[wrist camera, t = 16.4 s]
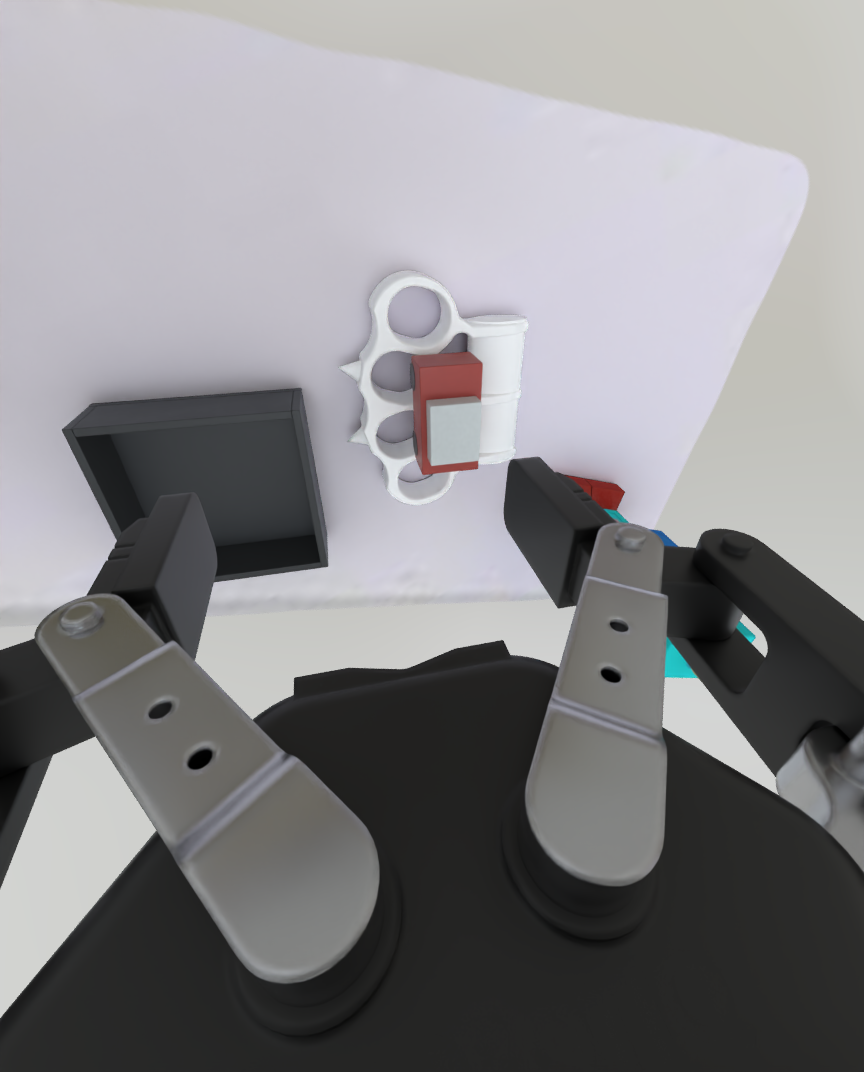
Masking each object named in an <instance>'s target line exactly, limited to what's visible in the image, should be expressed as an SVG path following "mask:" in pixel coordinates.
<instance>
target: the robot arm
mask: <svg viewBox="0 0 864 1072" xmlns="http://www.w3.org/2000/svg"><path fill="white" fill-rule="evenodd" d="M504 520H505V525H506V528H507V530H508V532H509V533H510V535H511V536H512V538H513V540H514V541H515V543H516V544H517V546H518V547H519V549H520V550H521V552H522V553H523V555H524V557H525V558H526V560H527V561H528V563H529V564H530V566H531V567H532V569H533V570H534V572H535V574H536V575H537V577H538V578H539V580H540V581H541V583H542V584H543V586H544V588H545V589H546V591H547V592H548V594H549V595H550V597H551V598H552V600H553V601H554V603H555V605H556V606H557V608H564V607H570V606H576V610H575V614H574V617H573V621H572V624H571V628H570V631H569V635H568V639H567V642H566V646H565V650H564V653H563V656H562V660H561V664H560V667H557V666H555V665H552V664H550V663H547V662H544V661H541V660H538V659H534V658H529V657H523V656H515V655H514V656H513V655H510V654H509V652H508V650H507V647H506V645H505V643H504V641H503V640H501V641H495V642H490V643H484V644H479V645H473V646H468V647H463V648H457V649H454V650H451V651H449V652H446V653H444V654H441V655H439V656H437V657H434V658H432V659H430V660H427V661H425V662H422V663H420V664H418V665H415V666H413V667H410V668H407V669H368V668H346V669H340V670H335V671H329V672H324V673H318V674H312V675H307V676H302V677H296V678H294V695H293V696H291V697H288V698H286V699H284V700H282V701H280V702H278V703H277V704H275V705H273V706H271V707H270V708H268V709H267V710H265V711H264V712H262V713H261V714H259V715H258V716H257V717H256V718H254V719H253V720H252V719H251V718H250V717H249V716H248V715H247V714H246V713H245V712H244V711H243V710H242V709H241V708H240V707H239V706H238V705H237V704H236V703H235V702H234V701H233V700H232V699H231V698H230V697H229V696H228V695H227V694H226V693H225V692H224V690H222V688H221V687H219V685H218V684H217V683H215V681H214V680H213V679H212V678H211V677H210V676H209V675H208V674H207V673H206V672H205V671H204V670H203V669H202V668H201V667H200V666H199V665H198V664H197V663H196V662H195V658H196V653H197V649H198V645H199V641H200V637H201V633H202V629H203V624H204V620H205V616H206V612H207V608H208V604H209V600H210V595H211V591H212V587H213V583H214V579H215V575H216V570H217V553H216V548H215V544H214V541H213V538H212V535H211V532H210V529H209V526H208V523H207V520H206V517H205V514H204V511H203V508H202V505H201V502H200V500H199V498H198V496H197V494H196V493H194V492H192V493H182V494H173V495H163V496H160V497H159V498H158V500H157V502H156V504H155V506H154V508H153V510H152V512H151V514H150V515H149V517H148V518H140V519H138V520H137V521H135V522H134V523H133V524H132V525H130V526H129V527H128V528H127V529H125V530H124V531H123V532H122V534H121V535H120V537H119V539H118V541H117V542H116V544H115V549H113V550H112V551H111V553H110V555H109V557H108V561H106V562H105V564H104V565H103V567H102V569H101V571H100V573H99V574H98V576H97V578H96V580H95V581H94V583H93V585H92V587H91V588H90V590H89V592H88V594H87V596H85V597H81V598H78V599H75V600H73V601H71V602H68V603H66V604H64V605H62V606H61V607H59V608H57V609H56V610H54V611H53V612H52V613H50V614H49V615H48V616H47V617H46V618H44V619H43V621H42V622H41V623H40V624H39V626H38V627H37V629H36V632H35V638H34V639H32V640H29V641H26V642H24V643H20V644H17V645H14V646H12V647H9V648H6V649H3V650H0V888H1V886H2V883H3V881H4V878H5V875H6V873H7V870H8V868H9V865H10V863H11V860H12V857H13V855H14V853H15V850H16V847H17V845H18V842H19V840H20V837H21V835H22V832H23V829H24V827H25V825H26V822H27V819H28V817H29V814H30V812H31V809H32V806H33V804H34V802H35V799H36V797H37V794H38V791H39V788H40V786H41V784H42V781H43V779H44V776H45V774H46V771H47V769H48V766H49V763H50V761H51V758H52V756H53V754H56V753H58V752H60V751H63V750H65V749H67V748H70V747H72V746H74V745H77V744H79V743H81V742H84V741H86V740H88V739H90V738H93V737H95V736H96V738H97V739H98V741H99V742H100V744H101V745H102V747H103V748H104V750H105V752H106V753H107V755H108V756H109V758H110V759H111V761H112V762H113V764H114V765H115V767H116V768H117V770H118V771H119V773H120V775H121V776H122V778H123V779H124V781H125V782H126V784H127V785H128V787H129V789H130V790H131V792H132V793H133V795H134V796H135V798H136V799H137V801H138V802H139V804H140V805H141V807H142V809H143V810H144V811H145V813H146V815H147V816H148V818H149V819H150V821H151V822H152V824H153V825H154V827H155V828H156V830H157V831H156V832H155V833H154V834H153V835H152V836H151V838H150V839H149V840H148V841H147V842H146V844H145V845H144V846H143V847H142V848H141V850H140V851H139V852H138V853H137V855H136V856H135V857H134V858H133V859H132V860H131V862H130V863H129V864H128V865H127V867H126V868H125V869H124V870H123V871H122V873H121V874H120V875H119V876H118V877H117V879H116V880H115V881H114V882H113V883H112V885H111V886H110V887H109V888H108V889H107V891H106V892H105V893H104V894H103V895H102V897H101V898H100V899H99V900H98V901H97V903H96V904H95V905H94V906H93V908H92V909H91V910H90V911H89V912H88V913H87V915H86V916H85V917H84V918H83V919H82V921H81V922H80V923H79V924H78V925H77V927H76V928H75V929H74V931H72V933H71V934H70V935H69V937H68V938H67V939H66V940H65V941H64V942H63V944H62V945H61V946H60V947H59V948H58V949H57V951H56V952H55V953H54V954H53V955H52V957H51V958H50V959H49V960H48V961H47V963H46V964H45V965H44V966H43V967H42V969H41V970H40V971H39V972H38V974H37V975H36V976H35V977H34V978H33V980H32V981H31V982H30V983H29V985H27V987H26V988H25V989H24V990H23V991H22V993H21V994H20V995H19V996H18V997H17V999H16V1000H15V1001H14V1002H13V1003H12V1005H11V1006H10V1007H9V1008H8V1010H7V1011H6V1012H5V1013H4V1014H3V1016H2V1017H1V1018H0V1072H864V621H863V620H861V619H860V618H859V617H858V616H856V615H855V614H854V613H852V612H851V611H850V610H849V609H847V608H846V607H845V606H843V605H842V604H841V603H840V602H838V601H837V600H836V599H834V598H833V597H832V596H831V595H829V594H828V593H827V592H825V591H824V590H823V589H821V588H820V587H819V586H818V585H816V584H815V583H814V582H813V581H811V580H810V579H809V578H807V577H806V576H805V575H804V574H802V573H801V572H800V571H798V570H797V569H796V568H794V567H793V566H792V565H791V564H789V563H788V562H787V561H786V560H784V559H783V558H782V557H780V556H779V555H778V554H776V553H775V552H774V551H773V550H771V549H770V548H769V547H768V546H766V545H765V544H764V543H762V542H760V541H759V540H758V539H756V538H754V537H752V536H750V535H747V534H744V533H741V532H738V531H734V530H728V529H712V530H708V531H705V532H704V533H703V534H702V535H701V537H700V539H699V542H698V544H697V547H696V548H689V547H675V546H664V543H663V541H662V540H661V538H660V537H659V536H658V535H657V534H655V533H654V532H652V531H651V530H649V529H647V528H645V527H642V526H639V525H635V524H631V523H622V522H620V523H617V522H616V521H615V520H614V519H613V518H612V517H611V516H610V515H609V514H608V513H607V512H606V511H605V510H604V509H603V508H602V507H601V506H600V505H599V504H598V503H597V502H596V501H595V500H592V497H591V496H590V495H589V494H588V493H587V492H584V489H582V488H581V487H580V486H579V485H578V484H577V483H576V482H575V481H574V480H573V479H571V478H569V477H567V476H565V475H563V474H561V473H559V472H554V471H553V470H552V469H551V468H550V467H549V466H548V465H547V464H546V463H545V462H544V461H543V460H542V459H541V458H540V457H531V458H522V459H513V460H511V461H510V463H509V466H508V472H507V482H506V492H505V502H504ZM743 613H744V614H745V615H746V616H747V617H748V618H749V619H750V620H751V621H752V622H753V623H754V624H755V625H756V626H757V627H758V628H759V629H760V630H761V631H762V633H763V634H764V636H765V638H766V641H767V645H768V653H767V655H766V657H764V656H763V655H762V654H761V653H760V652H759V651H758V650H757V649H756V648H755V647H754V646H753V645H752V644H751V643H750V642H749V641H748V639H747V638H746V637H745V636H744V635H743V634H742V633H741V632H740V631H739V630H738V629H737V628H736V627H737V625H738V623H739V621H740V619H741V617H742V615H743ZM667 637H668V639H669V640H670V641H671V643H672V644H673V645H674V647H675V648H676V649H677V650H678V652H679V653H680V654H681V656H682V657H683V658H684V659H685V661H686V662H687V663H688V665H689V666H690V667H691V668H692V670H693V671H694V672H695V674H696V675H697V676H698V678H699V679H700V680H701V681H702V682H703V684H704V685H705V686H706V688H707V689H708V690H709V692H710V693H711V694H712V696H713V697H714V698H715V699H716V700H717V702H718V703H719V704H720V706H721V707H722V708H723V710H724V711H725V712H726V714H727V715H728V716H729V718H730V719H731V720H732V721H733V723H734V724H735V725H736V727H737V728H738V729H739V730H740V732H741V733H742V734H743V736H745V738H746V739H747V741H748V742H749V743H750V745H751V746H752V747H753V748H754V750H755V751H756V752H757V754H758V755H759V756H760V758H761V759H762V760H763V761H764V762H765V764H766V765H767V766H768V768H769V769H770V770H771V772H772V773H773V774H774V775H775V777H776V787H777V791H778V794H779V795H777V794H775V793H774V792H772V791H770V790H768V789H767V788H765V787H764V786H762V785H760V784H758V783H757V782H755V781H753V780H751V779H750V778H748V777H746V776H745V775H743V774H741V773H740V772H738V771H736V770H735V769H733V768H731V767H729V766H728V765H726V764H724V763H723V762H721V761H719V760H717V759H716V758H714V757H712V756H711V755H709V754H707V753H705V752H704V751H702V750H700V749H699V748H697V747H695V746H693V745H692V744H690V743H688V742H686V741H685V740H683V739H682V738H680V737H678V736H676V735H675V734H673V733H671V732H670V731H668V730H666V729H665V728H663V727H662V719H663V698H664V679H665V658H666V638H667Z"/></svg>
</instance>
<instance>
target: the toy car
mask: <svg viewBox="0 0 864 1072" xmlns="http://www.w3.org/2000/svg"><path fill="white" fill-rule="evenodd" d="M411 361H412V363H411V364H410V380H411V386H412V389H413V412H414V431H413V447H414V452H415V458H416V460H417V462H418V465H419V467H420V470H421V472H422V474H423V475H428V474H436V473H445V472H454V471H463V470H472V469H478V461H479V450H480V429H481V408H482V402H481V392H482V371H483V363H482V362H481V361H480V360H479V359H478V358H477V357H475V356H474V355H473V354H472V353H471V352H458V353H444V354H429V355H415V356H412V357H411Z"/></svg>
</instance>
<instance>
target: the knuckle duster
mask: <svg viewBox="0 0 864 1072" xmlns="http://www.w3.org/2000/svg"><path fill="white" fill-rule="evenodd" d="M411 286H418V287H422V288H425V289H428V290H432V291H434V293H435V294H436V295H437V297H438V299H439V302H440V306H441V316H440V320H439V322H438V324H437V326H436V328H435V329H434V330H433V331H432V332H431V333H430V334H428V335H427V336H424V337H421V338H412V337H408V336H404V335H401V334H398V333H396V332H394V331H393V330H392V329H391V328H390V326H389V322H388V309H389V305H390V303H391V301H392V299H393V297H394V296H395V295H396V294H397V293H398V292H399V291H401V290H402V289H404V288H407V287H411ZM368 305H369V308H370V311H371V315H372V331H371V335H370V338H369V341H368V343H367V344H366V346H365V348H364V349H363V350H362V351H361V352H360V355H359V361H356V362H353V363H350V364H347V365H344V366H340V367H338V368H339V369H341V370H342V371H343V372H345V373H346V374H347V375H349V376H350V377H351V378H353V379H354V380H355V381H357V385H358V389H359V391H360V392H361V394H362V396H363V397H364V408H363V412H362V415H361V417H360V420H361V425H362V426H361V428H360V429H359V430H358V431H357V432H356V433H355V434H354V435H353V436H352V437H351V438H350V439H349V440H348V441H347V442H353V443H360V444H367V445H369V448H370V450H371V452H372V453H373V454H374V455H376V456H377V457H378V458H379V459H380V460H381V461H382V463H383V471H382V475H383V479H384V482H385V486H386V489H387V491H388V492H389V493H390V494H391V495H392V496H393V497H394V498H395V499H397V500H398V501H400V502H402V503H405V504H409V505H423V504H428V503H431V502H433V501H435V500H437V499H438V498H440V497H441V496H443V495H444V494H445V493H446V492H447V491H448V489H449V488H450V486H451V485H452V483H453V480H454V478H455V475H456V474H457V473H458V472H460V471H454V472H445V473H436V474H433V475H432V476H430V477H429V478H426V479H424V480H421V481H418V482H413V483H410V482H405V481H402V480H401V479H399V478H398V476H399V474H400V472H401V470H402V469H403V468H404V467H405V466H406V465H407V464H409V463H410V462H413V461H415V460H416V458H415V452H414V447H413V437H412V438H410V439H407V440H405V441H402V442H399V443H388V442H385V441H383V440H381V439H380V438H379V437H378V436H377V435H376V434H377V430H378V427H379V426H380V424H381V423H382V422H383V421H384V420H385V419H386V418H388V417H390V416H392V415H394V414H397V413H400V412H402V411H408V410H411V411H413V389H412V388H411V389H410V390H407V391H404V392H395V391H390V390H386V389H383V388H380V387H379V386H377V385H376V384H375V383H374V382H373V381H372V379H371V373H372V369H373V366H374V364H375V362H376V361H377V360H378V359H379V358H380V357H381V356H382V355H384V354H386V353H388V352H392V351H401V352H405V353H409V354H413V355H429V354H439V353H440V352H441V351H442V350H443V349H444V348H445V347H446V346H447V345H448V344H449V343H450V342H451V340H452V339H453V337H454V336H455V335H456V334H458V333H465V334H467V335H468V349H467V352H471V353H472V354H473V355H474V356H475V357H477V358H478V359H479V360H480V361H481V362H482V363H483V371H482V392H481V402H482V408H481V429H480V450H479V461H478V464H496V463H502V462H505V461H508V460H510V459H512V458H513V455H515V452H516V448H515V447H514V442H515V432H516V422H517V412H518V402H519V398H520V397H521V392H522V390H521V389H520V381H521V371H522V361H523V350H524V340H525V332H526V331H527V330H528V321H526V320H527V317H525V316H521V315H485V316H477V317H472V318H466V319H462V318H461V317H460V316H459V315H458V312H457V308H456V305H455V302H454V300H453V298H452V296H451V295H450V293H449V292H448V291H447V289H446V288H445V287H444V286H443V285H441V284H440V283H439V282H437V281H436V280H434V279H432V278H431V277H429V276H427V275H425V274H423V273H420V272H417V271H399V272H396V273H393V274H391V275H389V276H388V277H386V278H385V279H383V280H382V281H381V282H380V283H379V284H378V285H377V286H376V288H375V289H374V291H373V293H372V294H371V297H370V299H369V302H368Z"/></svg>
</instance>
